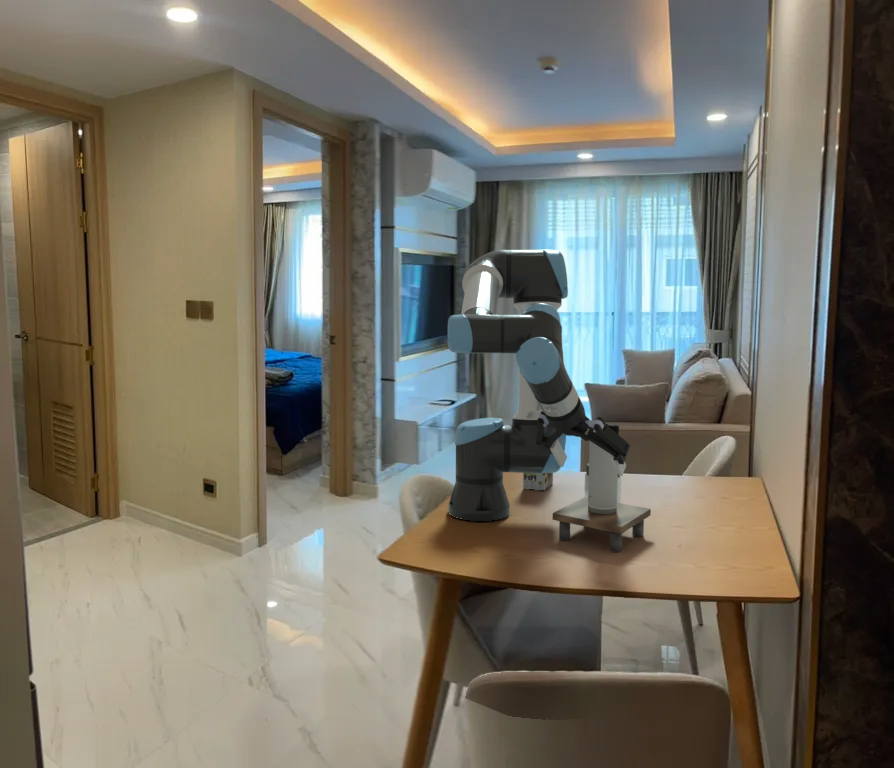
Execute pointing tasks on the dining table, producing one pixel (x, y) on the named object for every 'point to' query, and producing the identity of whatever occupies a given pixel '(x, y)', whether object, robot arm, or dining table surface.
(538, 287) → the robot arm
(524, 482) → the coffee box
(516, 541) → the dining table surface
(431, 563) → the dining table surface
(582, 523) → the peg shelf
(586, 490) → the jar
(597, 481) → the travel mug
